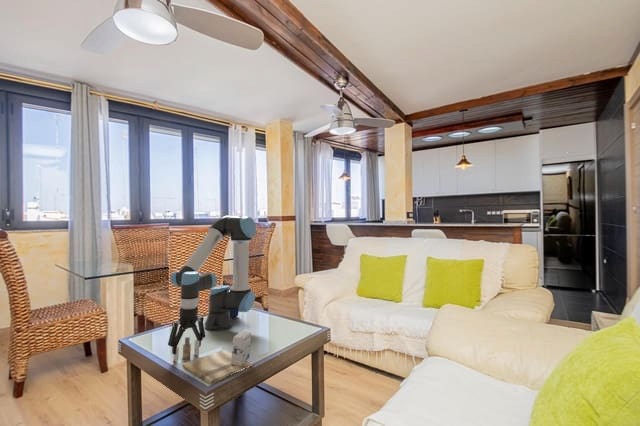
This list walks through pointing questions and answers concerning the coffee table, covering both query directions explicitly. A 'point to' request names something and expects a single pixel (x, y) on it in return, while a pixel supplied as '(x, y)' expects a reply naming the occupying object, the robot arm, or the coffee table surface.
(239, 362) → the ink box
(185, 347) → the brown bottle
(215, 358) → the board
